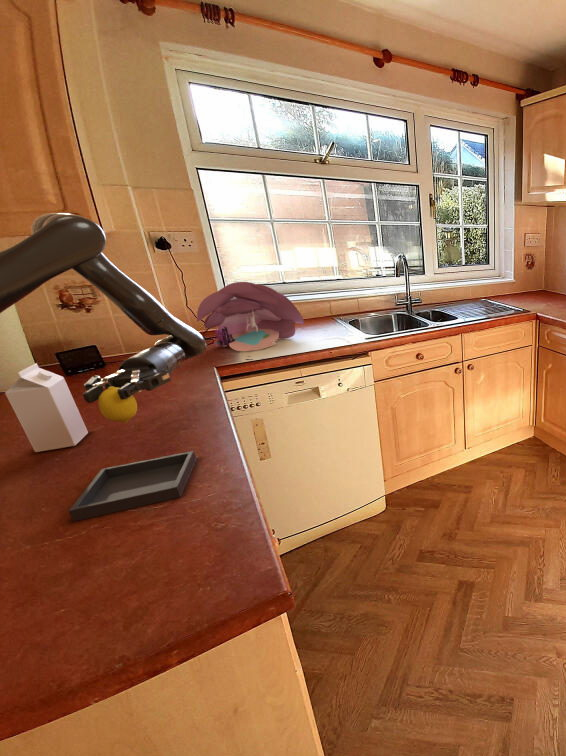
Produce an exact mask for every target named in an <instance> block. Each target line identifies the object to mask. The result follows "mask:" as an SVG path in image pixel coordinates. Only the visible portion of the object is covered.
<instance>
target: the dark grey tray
mask: <svg viewBox="0 0 566 756" xmlns="http://www.w3.org/2000/svg"><path fill="white" fill-rule="evenodd" d="M196 462H197V457H196V454H195V451H194V450H191V451H187V452H180V453H175V454H170V455H166V456H160V457H155V458H151V459H150V458H149V459H145V460H139V461H135V462H130V463H124V464H119V465H113V466H109V467H104V468H101V469H100V470H99V471H98V473H97V474H96V476H94V478H93V479H92V480H91V481H90V483H89V484H88V485H87V487H86V488H85V489H84V491H83V492H82V493H81V494H80V496H79V497H78V498H77V499H76V500H75V502H74V503H73V504H72V505H71V507H70V508H69V510H68V513H69V515H70V517H71V519H72V521H73V522H77V521H81V520H86V519H89V518H96V517H99V516H104V515H108V514H113V513H116V512H121V511H125V510H130V509H134V508H139V507H144V506H148V505H152V504H156V503H157V504H158V503H159V502H165V501H169V500H174V499H178V498H181V497H182V496H183V492H184V490H185V489H186V486H187V483H188V480H189V479H190V476H191V474H192V472H193V469H194V467H195V465H196Z"/></svg>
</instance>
